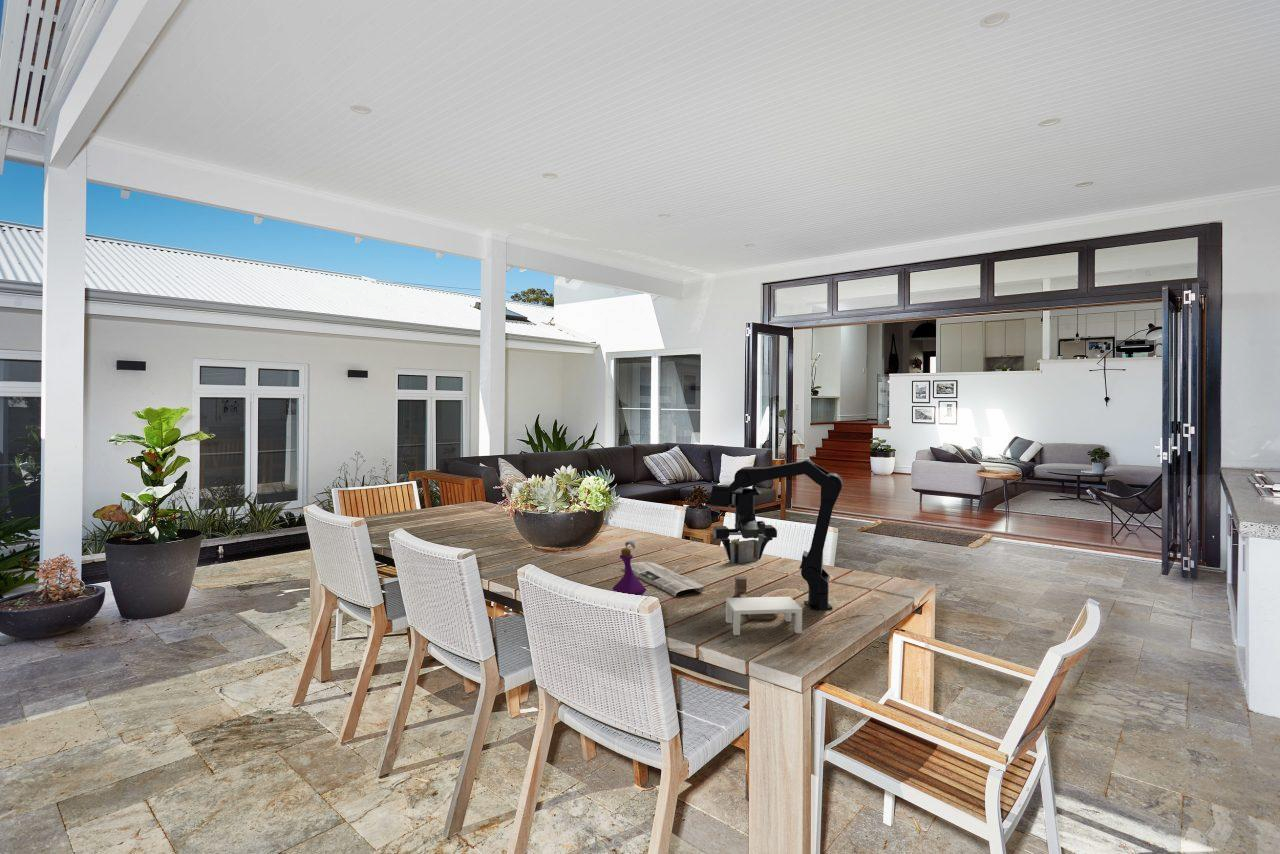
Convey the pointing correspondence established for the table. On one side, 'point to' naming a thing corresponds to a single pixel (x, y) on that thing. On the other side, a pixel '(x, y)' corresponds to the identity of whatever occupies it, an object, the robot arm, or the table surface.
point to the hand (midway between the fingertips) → (744, 559)
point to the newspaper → (664, 578)
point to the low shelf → (762, 609)
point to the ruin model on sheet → (743, 550)
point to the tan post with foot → (741, 593)
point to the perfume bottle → (629, 575)
